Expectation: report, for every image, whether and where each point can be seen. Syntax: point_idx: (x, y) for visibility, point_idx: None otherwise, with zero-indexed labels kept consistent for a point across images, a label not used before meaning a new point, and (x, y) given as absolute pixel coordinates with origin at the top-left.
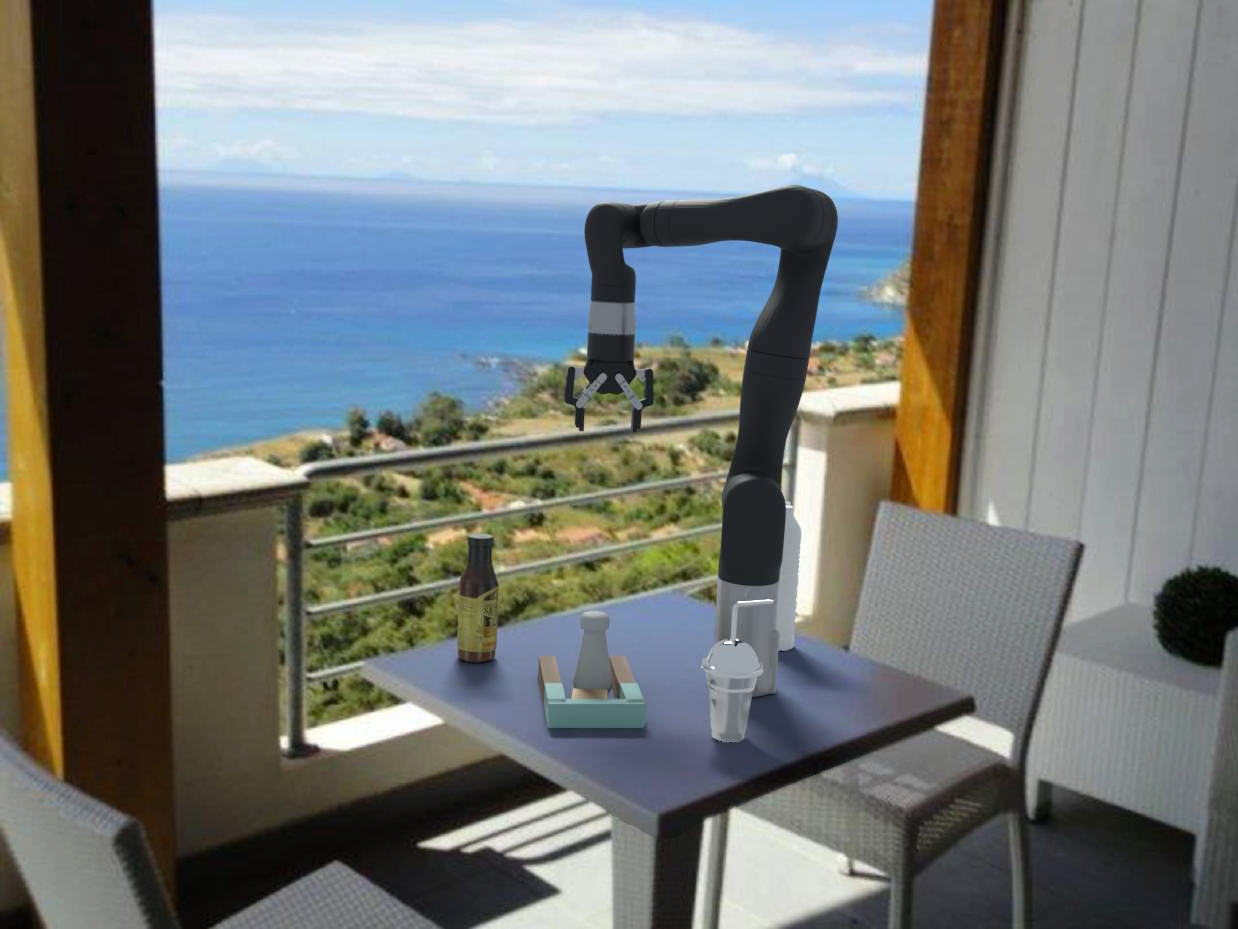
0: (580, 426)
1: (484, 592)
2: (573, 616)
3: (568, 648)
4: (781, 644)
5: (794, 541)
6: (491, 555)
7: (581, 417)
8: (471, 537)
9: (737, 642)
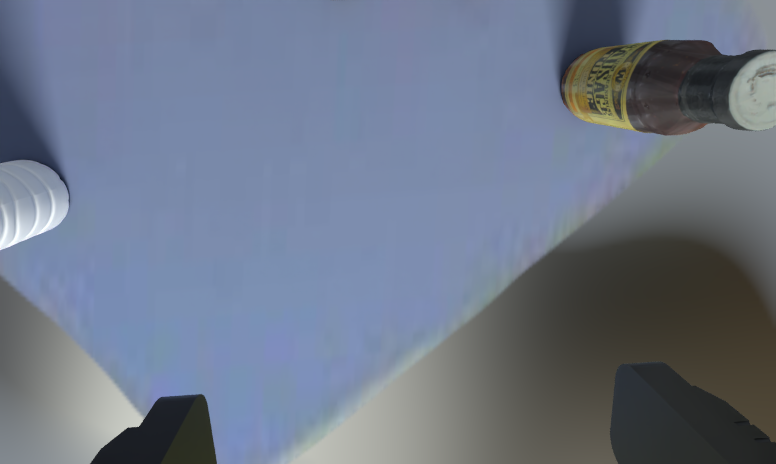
0: (674, 374)
1: (661, 41)
2: (404, 340)
3: (424, 155)
4: (9, 161)
5: None
6: (695, 83)
7: (729, 430)
8: None
9: None
